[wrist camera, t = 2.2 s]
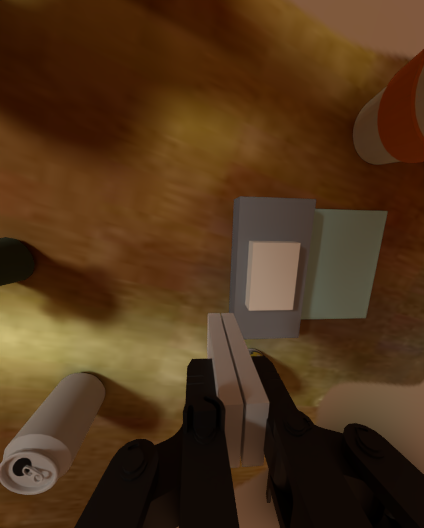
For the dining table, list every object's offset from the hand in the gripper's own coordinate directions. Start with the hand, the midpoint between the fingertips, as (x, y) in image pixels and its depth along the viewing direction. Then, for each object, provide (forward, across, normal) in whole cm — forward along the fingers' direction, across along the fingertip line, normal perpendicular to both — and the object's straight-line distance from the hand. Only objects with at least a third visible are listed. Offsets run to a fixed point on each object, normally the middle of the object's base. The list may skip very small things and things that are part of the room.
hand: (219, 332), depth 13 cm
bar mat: (+18, +21, 0) cm, 28 cm away
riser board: (+18, +9, 0) cm, 20 cm away
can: (+19, -20, -21) cm, 34 cm away
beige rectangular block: (+14, +8, 0) cm, 17 cm away
